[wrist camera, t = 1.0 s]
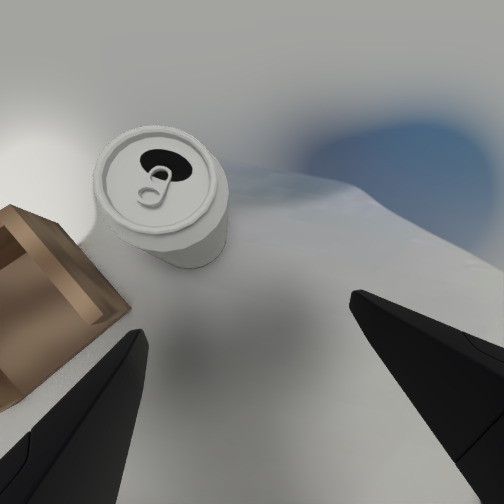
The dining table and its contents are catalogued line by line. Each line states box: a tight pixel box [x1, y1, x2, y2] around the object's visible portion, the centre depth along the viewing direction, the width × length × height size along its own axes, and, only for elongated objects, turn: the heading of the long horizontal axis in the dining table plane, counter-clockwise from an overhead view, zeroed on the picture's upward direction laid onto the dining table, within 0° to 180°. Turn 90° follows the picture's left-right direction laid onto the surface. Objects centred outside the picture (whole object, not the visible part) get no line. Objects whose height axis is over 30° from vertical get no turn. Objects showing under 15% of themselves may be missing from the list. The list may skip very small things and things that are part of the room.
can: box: [93, 125, 229, 269], centre depth 16 cm, size 8×8×12 cm
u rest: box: [0, 204, 131, 413], centre depth 17 cm, size 11×11×5 cm
